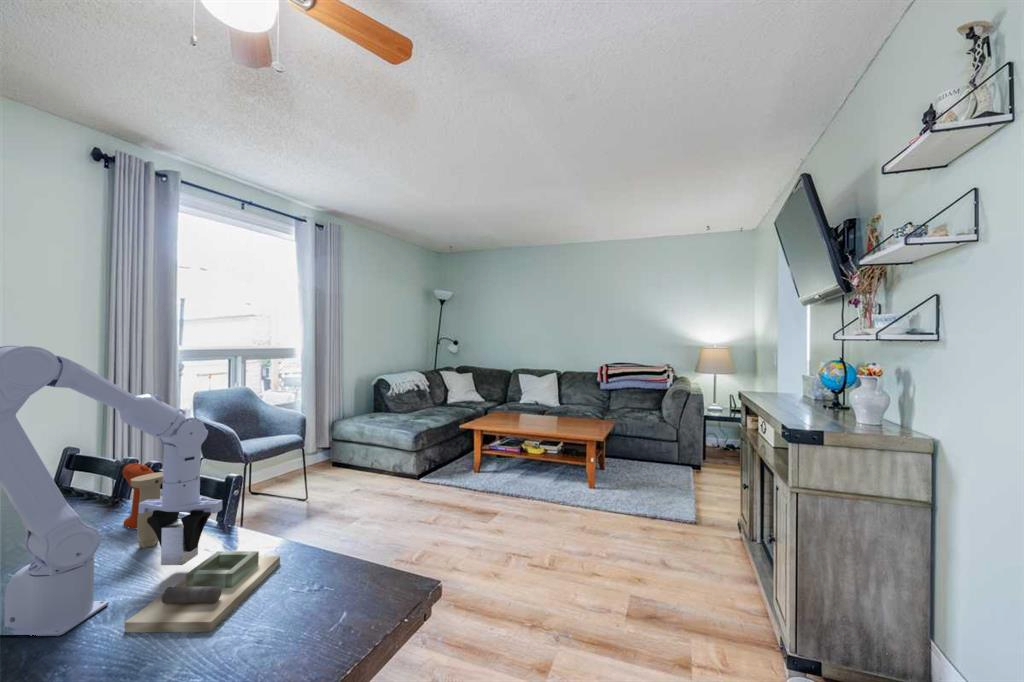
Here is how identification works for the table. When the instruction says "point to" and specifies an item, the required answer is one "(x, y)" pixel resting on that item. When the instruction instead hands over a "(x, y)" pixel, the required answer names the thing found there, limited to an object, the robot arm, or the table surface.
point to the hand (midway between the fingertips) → (180, 549)
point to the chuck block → (205, 594)
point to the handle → (148, 491)
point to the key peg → (175, 545)
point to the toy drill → (130, 473)
